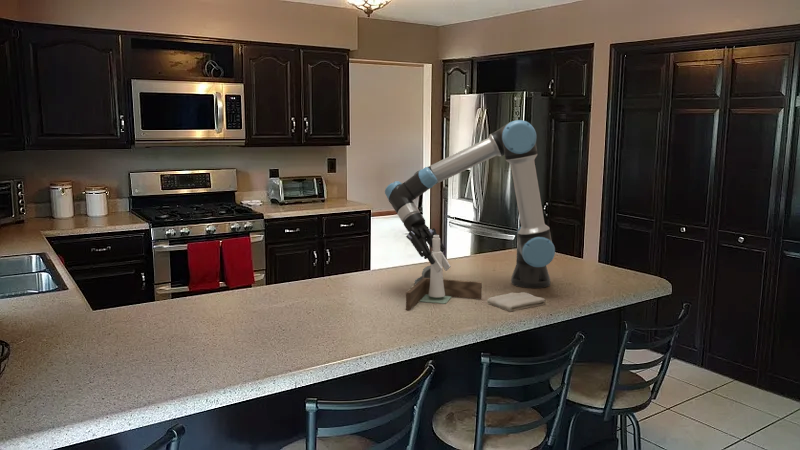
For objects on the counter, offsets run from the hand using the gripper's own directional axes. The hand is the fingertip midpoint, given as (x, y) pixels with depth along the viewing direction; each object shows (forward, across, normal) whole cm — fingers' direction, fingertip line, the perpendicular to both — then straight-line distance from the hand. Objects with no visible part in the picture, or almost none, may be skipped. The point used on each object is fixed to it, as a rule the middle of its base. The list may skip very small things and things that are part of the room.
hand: (443, 269), depth 216 cm
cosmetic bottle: (+5, -1, -10) cm, 11 cm away
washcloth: (+23, -17, +5) cm, 29 cm away
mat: (+6, 0, -11) cm, 12 cm away
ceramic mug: (-6, -13, -23) cm, 27 cm away
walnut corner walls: (+10, +2, -7) cm, 12 cm away
